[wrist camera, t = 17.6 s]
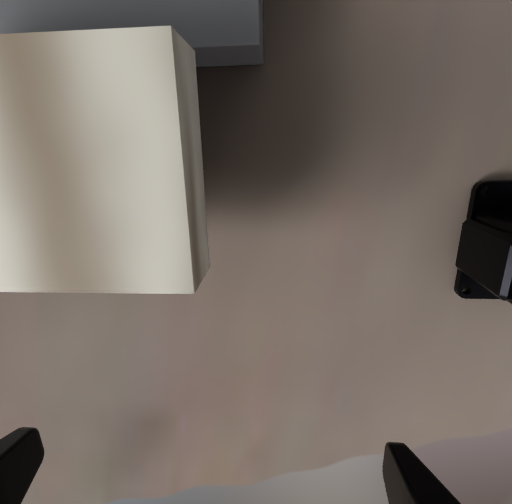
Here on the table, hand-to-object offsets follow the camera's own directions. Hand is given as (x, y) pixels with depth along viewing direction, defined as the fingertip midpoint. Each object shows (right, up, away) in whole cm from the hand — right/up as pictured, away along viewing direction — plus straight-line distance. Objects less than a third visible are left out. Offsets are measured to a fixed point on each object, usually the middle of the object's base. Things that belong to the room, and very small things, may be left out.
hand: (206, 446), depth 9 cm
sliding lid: (-6, +9, +6) cm, 12 cm away
